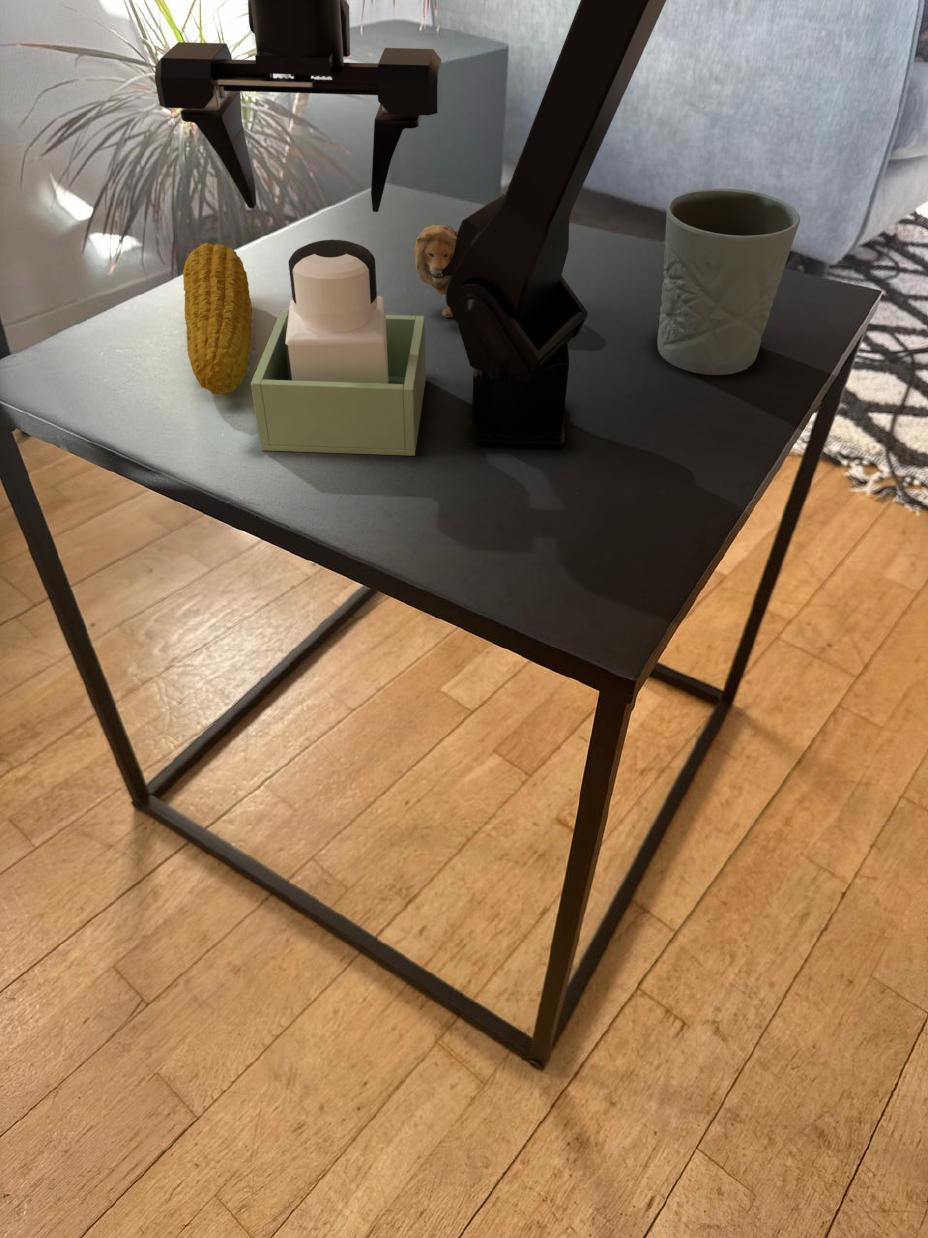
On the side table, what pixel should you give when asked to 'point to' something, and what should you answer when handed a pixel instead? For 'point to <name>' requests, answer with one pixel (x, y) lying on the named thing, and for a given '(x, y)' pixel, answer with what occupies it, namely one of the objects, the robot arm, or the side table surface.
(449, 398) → the side table surface
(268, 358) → the bin
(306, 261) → the medicine bottle
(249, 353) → the food
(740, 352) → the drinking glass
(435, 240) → the lion figurine
